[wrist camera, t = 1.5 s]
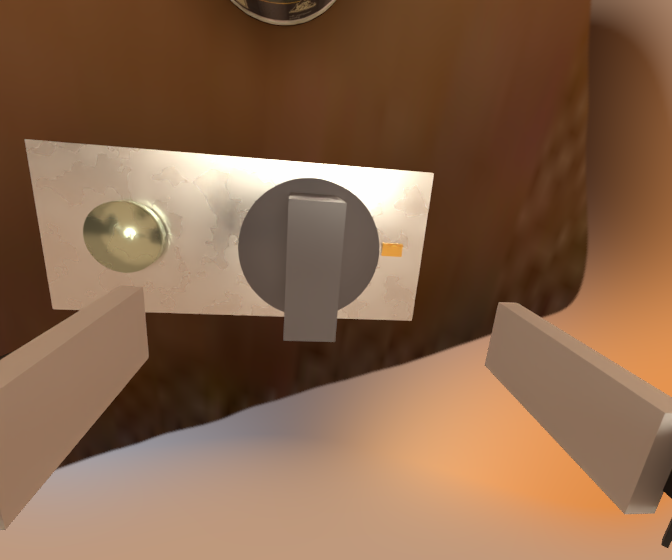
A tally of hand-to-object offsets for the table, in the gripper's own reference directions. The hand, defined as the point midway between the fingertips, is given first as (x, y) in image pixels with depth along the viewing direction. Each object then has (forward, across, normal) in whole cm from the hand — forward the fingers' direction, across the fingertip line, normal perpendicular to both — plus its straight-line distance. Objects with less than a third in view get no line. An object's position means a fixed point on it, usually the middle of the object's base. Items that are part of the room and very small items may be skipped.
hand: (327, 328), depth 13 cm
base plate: (+17, -6, 0) cm, 18 cm away
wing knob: (+15, 0, 0) cm, 15 cm away
